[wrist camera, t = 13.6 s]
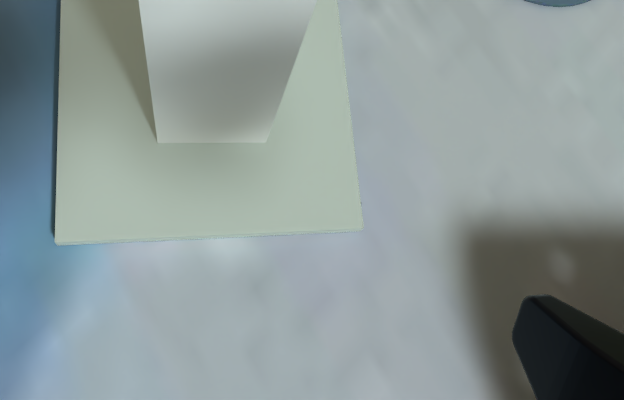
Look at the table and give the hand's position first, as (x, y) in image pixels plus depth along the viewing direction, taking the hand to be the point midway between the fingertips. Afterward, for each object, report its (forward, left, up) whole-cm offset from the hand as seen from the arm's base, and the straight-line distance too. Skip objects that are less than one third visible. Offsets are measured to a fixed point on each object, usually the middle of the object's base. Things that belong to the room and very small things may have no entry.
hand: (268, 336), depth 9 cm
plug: (+10, +4, -13) cm, 17 cm away
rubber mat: (+10, +4, -14) cm, 17 cm away
